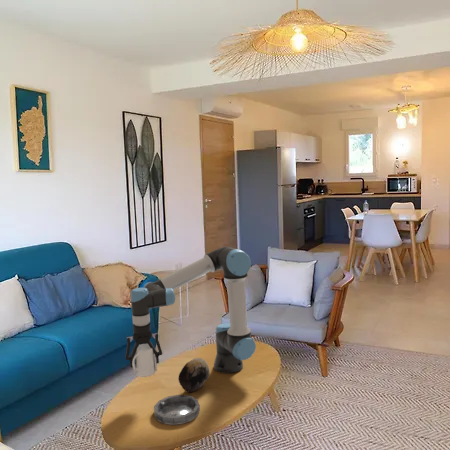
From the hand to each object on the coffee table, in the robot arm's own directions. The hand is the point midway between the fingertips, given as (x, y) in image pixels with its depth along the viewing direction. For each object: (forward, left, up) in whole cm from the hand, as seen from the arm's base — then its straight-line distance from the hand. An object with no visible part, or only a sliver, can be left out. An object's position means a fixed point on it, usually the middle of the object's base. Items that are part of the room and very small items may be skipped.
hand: (145, 371), depth 206 cm
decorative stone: (-23, -5, -15) cm, 28 cm away
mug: (+1, 0, -1) cm, 1 cm away
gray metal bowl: (-12, +13, -15) cm, 23 cm away
